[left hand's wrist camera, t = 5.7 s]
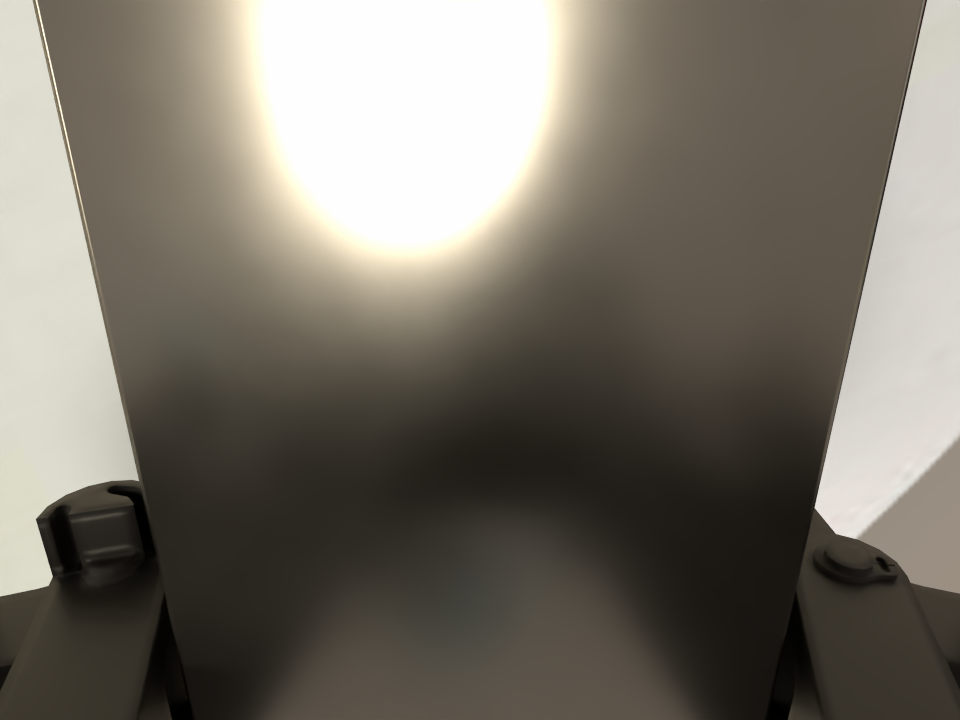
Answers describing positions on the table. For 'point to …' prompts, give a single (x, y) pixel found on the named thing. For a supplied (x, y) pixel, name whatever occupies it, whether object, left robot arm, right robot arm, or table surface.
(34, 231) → the table surface
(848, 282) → the bar
